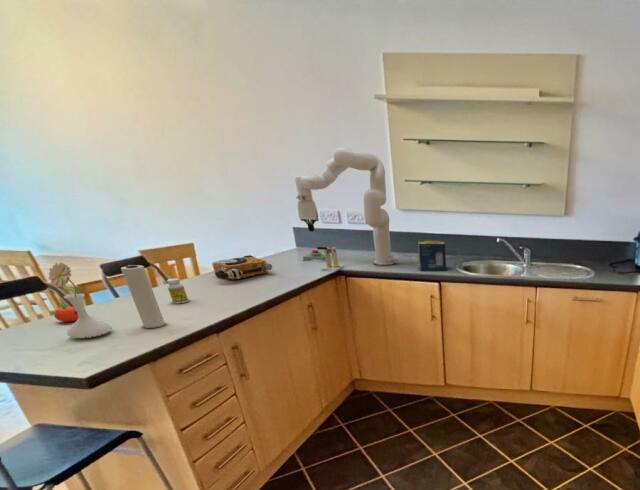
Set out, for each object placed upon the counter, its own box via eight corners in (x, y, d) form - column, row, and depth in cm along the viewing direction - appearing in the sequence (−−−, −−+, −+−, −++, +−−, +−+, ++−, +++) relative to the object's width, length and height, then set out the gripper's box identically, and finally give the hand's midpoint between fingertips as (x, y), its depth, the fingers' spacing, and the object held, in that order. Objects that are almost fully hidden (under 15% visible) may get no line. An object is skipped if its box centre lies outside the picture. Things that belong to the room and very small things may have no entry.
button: (319, 252, 261) (319, 250, 260) (317, 254, 258) (316, 251, 257) (314, 252, 261) (313, 249, 260) (311, 253, 258) (311, 250, 257)
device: (278, 258, 221) (221, 268, 197) (282, 274, 225) (226, 285, 201) (252, 253, 230) (194, 262, 207) (256, 268, 234) (199, 278, 210)
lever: (326, 250, 225) (326, 245, 224) (317, 250, 225) (316, 245, 224) (335, 253, 237) (335, 249, 236) (327, 253, 237) (326, 249, 236)
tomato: (82, 316, 158) (74, 299, 155) (86, 321, 153) (78, 304, 150) (56, 320, 153) (47, 303, 150) (59, 325, 148) (51, 308, 145)
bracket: (336, 271, 235) (333, 249, 230) (322, 270, 235) (318, 249, 230) (343, 267, 244) (340, 246, 239) (329, 266, 244) (326, 246, 239)
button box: (329, 258, 265) (328, 251, 264) (322, 261, 257) (321, 254, 255) (310, 257, 265) (309, 250, 264) (303, 260, 257) (302, 253, 255)
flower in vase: (64, 336, 140) (26, 260, 129) (107, 327, 149) (76, 255, 137) (77, 345, 134) (38, 267, 123) (121, 335, 143) (89, 261, 131)
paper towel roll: (161, 327, 150) (138, 268, 140) (141, 329, 148) (116, 268, 138) (169, 321, 156) (148, 263, 146) (150, 322, 154) (127, 264, 144)
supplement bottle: (189, 299, 180) (182, 277, 176) (187, 303, 176) (179, 280, 171) (174, 300, 178) (166, 278, 174) (171, 304, 174) (163, 281, 169)
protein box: (419, 267, 251) (417, 240, 244) (444, 266, 255) (443, 240, 248) (420, 271, 242) (418, 243, 235) (446, 270, 246) (445, 243, 239)
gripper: (290, 198, 241) (296, 231, 250) (315, 199, 241) (321, 232, 250) (296, 197, 248) (302, 229, 256) (321, 198, 248) (326, 230, 256)
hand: (311, 231), depth 253 cm, fingers closed
